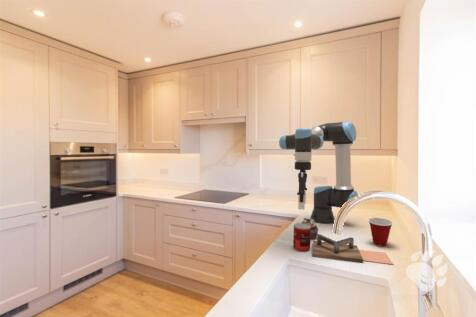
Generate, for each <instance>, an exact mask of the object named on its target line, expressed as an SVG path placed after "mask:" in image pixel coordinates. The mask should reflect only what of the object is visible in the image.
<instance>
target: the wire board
mask: <svg viewBox="0 0 476 317" xmlns="http://www.w3.org/2000/svg"><path fill="white" fill-rule="evenodd" d="M354 241H355V240H354V237H348V238H344V239H340V240H337V241H336V240H334V239H331V238H329V237H326V236H325V235H323V234H321V233H320V234H319V233H318V234H317V239H316V240H312V257H314V258H320V259H328V260H336V261H344V262H352V263H357V264H358V263H360V264H364V261H363V258H362V256H361V254H360V251H359V250H360V249H359V247H358V245H356V244H354V243H355V242H354Z"/></svg>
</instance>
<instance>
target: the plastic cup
mask: <svg viewBox="0 0 476 317" xmlns="http://www.w3.org/2000/svg"><path fill="white" fill-rule="evenodd" d="M367 222H368V223H369V227H370V232H371V233H370V234H371V236H372V238H371V239H372V243H373V244H374V245H376V246H379V247H385V246H387V244H388V241H389V236H390V232H391V229H392V226H393V224H394V222H393V221H392V220H390V219H387V218H383V217H371V218H370V217H369V218H368V219H367Z"/></svg>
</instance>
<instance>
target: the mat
mask: <svg viewBox="0 0 476 317" xmlns="http://www.w3.org/2000/svg"><path fill="white" fill-rule="evenodd" d="M359 251H360V254H361V256H362V258H363V262H367V263H375V264H382V265H389V266H390V265H392V266H394V263H393V261H392V260H391V259H390V256H388V254H387V253H386V252H385V251H384V252H382V251H375V250H364V249H359Z"/></svg>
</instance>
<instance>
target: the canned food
mask: <svg viewBox="0 0 476 317" xmlns="http://www.w3.org/2000/svg"><path fill="white" fill-rule="evenodd" d="M292 232H293V244H292V245H293V249H294V250H296V251H298V252H308V251H310V250H311V240H310V239H311V227H310V225H308V224H303V223H301V222H299V223H294V224H293V231H292Z"/></svg>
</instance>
